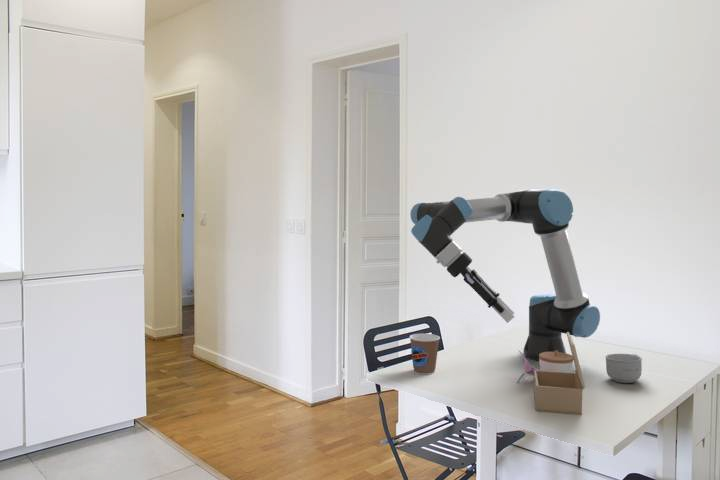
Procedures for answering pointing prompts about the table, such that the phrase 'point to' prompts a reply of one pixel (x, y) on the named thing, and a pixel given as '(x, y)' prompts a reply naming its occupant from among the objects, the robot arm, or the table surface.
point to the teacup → (624, 367)
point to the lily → (527, 367)
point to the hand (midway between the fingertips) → (510, 317)
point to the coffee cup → (424, 352)
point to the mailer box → (557, 392)
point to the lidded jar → (556, 362)
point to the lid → (576, 361)
